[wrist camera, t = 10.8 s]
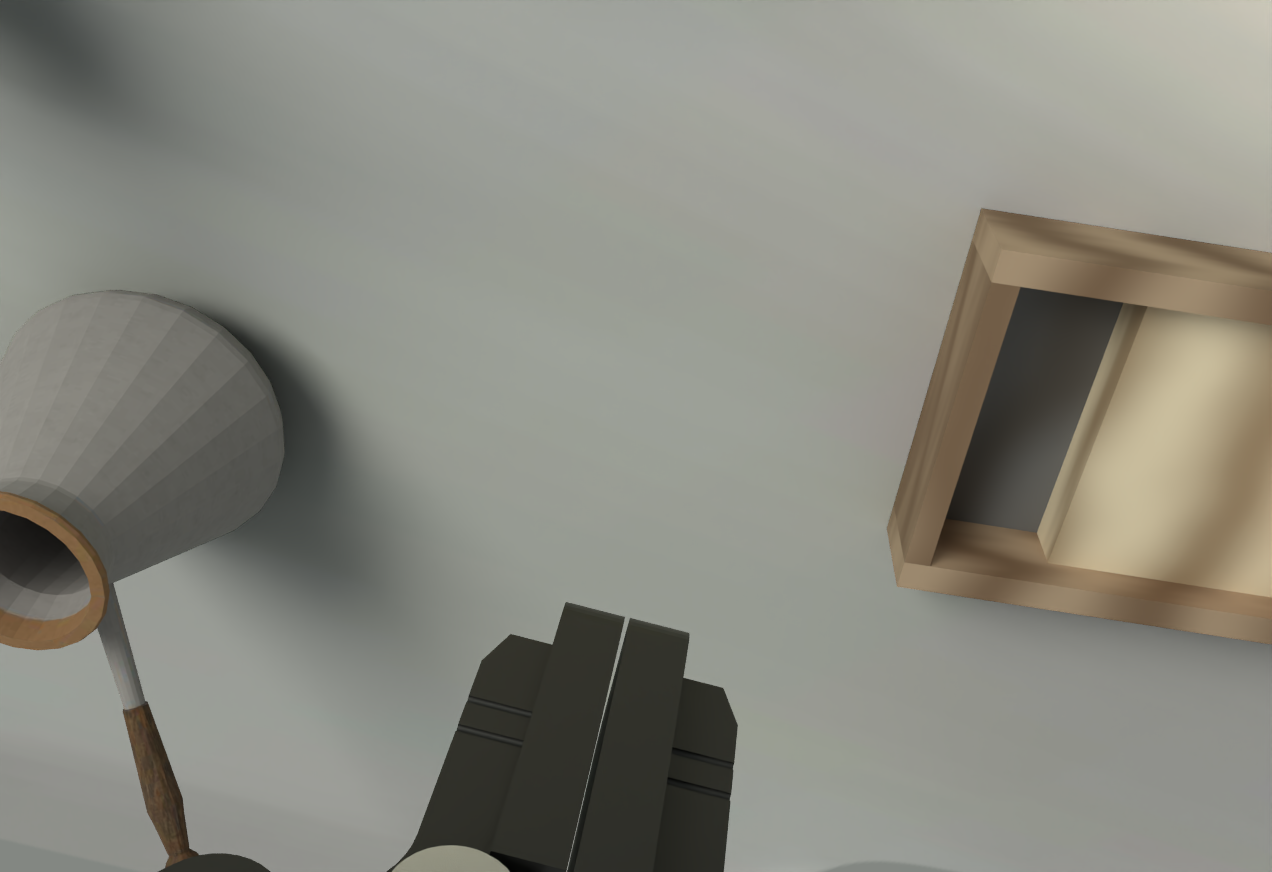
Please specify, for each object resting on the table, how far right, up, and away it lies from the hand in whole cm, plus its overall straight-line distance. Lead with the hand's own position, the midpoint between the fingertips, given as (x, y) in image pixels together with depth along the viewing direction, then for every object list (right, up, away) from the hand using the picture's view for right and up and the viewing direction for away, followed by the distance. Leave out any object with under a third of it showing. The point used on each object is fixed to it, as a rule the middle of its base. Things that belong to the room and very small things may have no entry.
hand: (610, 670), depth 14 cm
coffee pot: (-18, +1, +38) cm, 42 cm away
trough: (+28, +2, +33) cm, 43 cm away
